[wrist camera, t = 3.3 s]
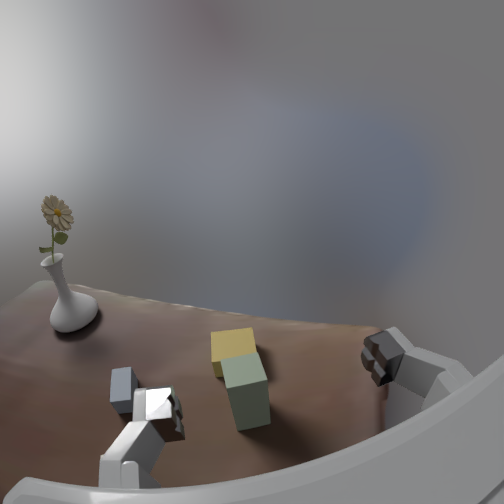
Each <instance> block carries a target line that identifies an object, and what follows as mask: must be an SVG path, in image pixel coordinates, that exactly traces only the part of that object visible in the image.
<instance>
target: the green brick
mask: <svg viewBox="0 0 504 504" xmlns="http://www.w3.org/2000/svg"><path fill="white" fill-rule="evenodd" d="M220 361H221V365H222V370H223V375H224V379H225V384H226V388H227V392H228V396H229V400H230V404H231V408H232V412H233V416H234V419H235V423H236V427H237V431H241V430H246V429H250V428H255V427H259V426H263V425H268V424H271V420H270V406H269V393H268V380H267V377H266V374H265V371H264V369H263V366H262V363H261V360H260V357H259V355H258V352H256V353H251V354H246V355H241V356H237V357H232V358H226V359H221V360H220Z"/></svg>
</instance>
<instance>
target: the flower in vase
mask: <svg viewBox="0 0 504 504" xmlns="http://www.w3.org/2000/svg"><path fill="white" fill-rule="evenodd" d="M43 202H44V204H42V205H41V207H42V209H41V210H42V212H43V213H44V217H45V218H46V220H47V223H48V224H49V225H51V226H52V247H49V248H41V247H39V250H40V252H41V253H45V252H50V251H52V255H51V256H49V257H47V258H46V259H44V260H43V261H42V262H41V266H42V267H44V268H45V269H46V270H47V271H48V272H49V273H50V275H51V276H52V278H53V280H54V282H55V284H56V287H57V289H58V293H59V297H58V300H57V302H56V304H55V306H54V308H53V310H52V313H51V316H50V323H51V326H52V328H54V329H55V330H57V331H59V332H65V333H66V332H73V331H76V330H78V329H81V328H82V327H84V326H86V325H87V324H88V323H90V322H91V321H92V320H93V319H94V317H95V316H96V314H97V310H98V303H97V301H96V300H95V299H94V298H93V297H91V296H89V295H86V294H82V293H77V292H73V291H71V290H70V289H69V287H68V286H67V283H66V281H65V278H64V275H63V270H62V259H63V254H60V253H59V254H53V249H54V241H55V242H56V243H58V244H61V245H62V244H64V243H65V242H66V241H67V238H68V235H67V234H65V233H63V232H57V233H56V234H55V237H54V234H53V228H55V229H56V230H57V231H60V230H61V231H65V230H67V231H68V230H69V229H71V225H70V224H69V223H74V221H73V216H71V215H70V214H71V213H72V211H71V210H70V209H69V207H68V206H67V205H65V204H64V201H63V200H58V198H57V197H56V196H53V195H50V199H49V197H47V196H45V199H43Z"/></svg>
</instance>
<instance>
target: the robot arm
mask: <svg viewBox="0 0 504 504" xmlns="http://www.w3.org/2000/svg"><path fill="white" fill-rule="evenodd" d="M363 344H364V345H365V348H364V349H363V350H362V353H361V360H362V363H363V366H364V367H365V369H366V370H367V371H370V372H372V374H371V378H372V379H373V380H374V382H375V383H376V385H377V386H378V387H380V386H382V385H385V384H387V383H390V382H392V381H394V382H396V383H397V384H399V385H401V386H403V387H405V388H407V389H408V390H410V391H412V392H414V393H416V394H418V395H420V396H422V397H424V398H425V400H424V402H423V403H422V405H421V408H420V409H421V410H422V412H420V413H419V414H417V415H416V416H413V417H412V418H410V419H408V420H406V421H404V422H402V423H400V424H398V425H396V426H394V427H393V428H390V429H388V430H386V431H384V432H382V433H380V434H378V435H376V436H373V437H371V438H369V439H367V440H365V441H362V442H360V443H357V444H355V445H353V446H350V447H348V448H345V449H343V450H340V451H337V452H335V453H332V454H329V455H326V456H324V457H321V458H318V459H315V460H312V461H309V462H306V463H302V464H299V465H296V466H292V467H289V468H285V469H281V470H278V471H274V472H270V473H265V474H261V475H257V476H252V477H247V478H242V479H237V480H231V481H226V482H219V483H212V484H205V485H196V486H186V487H174V488H161V484H159V483H158V482H157V481H156V480H155V479H154V478H153V477H152V476H150V475H149V474H150V472H151V470H152V468H153V466H154V465H155V463H156V461H157V459H158V457H159V455H160V453H161V451H162V449H163V447H164V446H165V444H166V443H165V442H172V441H180V440H185V433H184V426H183V424H182V422H181V420H182V418H183V413H182V408H181V404H180V401H179V399H178V397H177V396H175V390H174V388H173V386H172V385H168V386H158V387H148V388H138V389H135V391H134V402H133V422H129V423H128V424H127V425H126V427H125V428H124V429H123V431H122V432H121V433H120V435H119V436H118V437H117V439H116V440H115V441H114V443H113V444H112V445H111V447H110V448H109V449H108V450H107V452H106V453H105V454H104V456H103V457H102V458H101V460H100V469H99V487H89V486H80V485H71V484H64V483H58V482H52V481H47V480H42V479H37V478H32V477H25V478H23V479H22V480H21V481H19V482H18V483H17V484H16V485H15V486H14V487H13V488H12V489H11V490H10V491H9V492H8V493H7V495H6V496H5V498H4V500H3V504H504V354H503V355H502V356H501V357H500V358H498V359H497V360H496V361H495V362H494V363H492V364H491V365H490V366H489V367H487V368H486V369H485V370H483V371H482V372H481V373H480V374H478V375H477V376H476V377H473V376H472V375H471V374H470V373H469V372H468V371H467V370H466V369H465V367H464V366H463V365H462V364H461V363H460V362H459V361H456V360H454V359H450V358H448V357H445V356H442V355H439V354H436V353H433V352H430V351H428V350H424V349H422V348H419V347H417V348H415V347H414V346H413V345H412V344H411V343H410V342H409V340H408V339H407V338H406V337H405V336H404V335H403V334H402V333H401V332H400V331H399V330H398V329H397V328H396V327H392V328H390V329H387V330H384V331H381V332H378V333H376V334H373V335H370V336H368V337H366V338H365V339H364V343H363Z"/></svg>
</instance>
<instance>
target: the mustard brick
mask: <svg viewBox="0 0 504 504" xmlns="http://www.w3.org/2000/svg"><path fill="white" fill-rule="evenodd" d="M211 349H212V365H213V369H214V372H215V376H216V377H224V375H223V370H222V365H221V361H220V360H221V359H226V358H232V357H237V356H241V355H246V354H251V353H256V352H257V351H256V346H255V341H254V335H253V330H252V328H244V329H236V330H228V331H219V332H211Z"/></svg>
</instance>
